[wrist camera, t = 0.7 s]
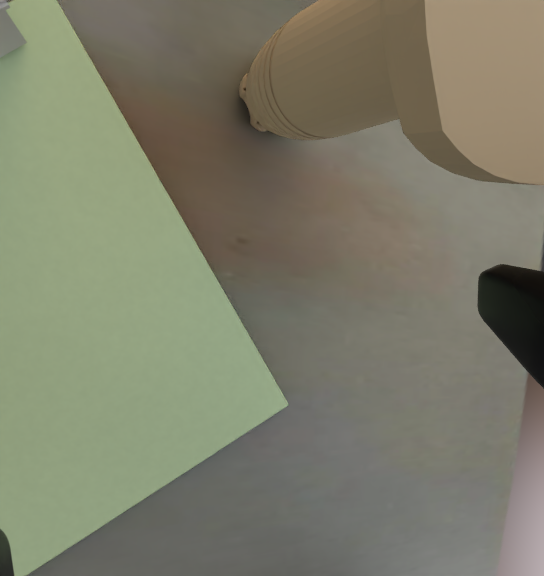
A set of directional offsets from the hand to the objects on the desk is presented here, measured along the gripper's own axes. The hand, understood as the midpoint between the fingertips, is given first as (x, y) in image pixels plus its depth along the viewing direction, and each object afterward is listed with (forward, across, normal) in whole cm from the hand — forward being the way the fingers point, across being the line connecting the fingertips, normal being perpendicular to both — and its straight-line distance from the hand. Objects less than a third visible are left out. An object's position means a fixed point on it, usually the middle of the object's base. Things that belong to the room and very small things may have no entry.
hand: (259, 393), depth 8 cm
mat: (+14, +7, +5) cm, 16 cm away
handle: (+15, -7, 0) cm, 17 cm away
